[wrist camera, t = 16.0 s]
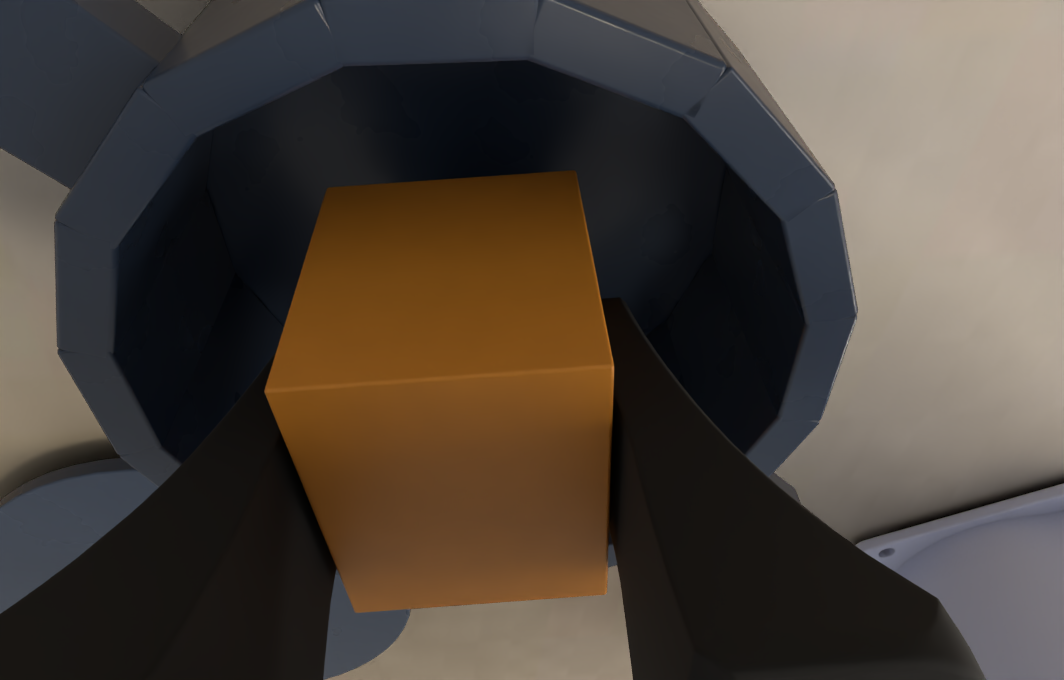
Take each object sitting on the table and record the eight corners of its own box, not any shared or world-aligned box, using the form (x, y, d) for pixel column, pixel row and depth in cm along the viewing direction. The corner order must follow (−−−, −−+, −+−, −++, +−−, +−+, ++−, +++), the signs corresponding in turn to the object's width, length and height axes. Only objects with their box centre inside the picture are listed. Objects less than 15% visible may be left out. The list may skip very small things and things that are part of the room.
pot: (255, -527, 9) (69, -701, 5) (920, 263, 17) (1052, 437, 13) (-73, 147, 14) (-291, 327, 10) (557, 500, 23) (573, 676, 19)
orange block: (575, 168, 12) (614, 366, 8) (578, 389, 15) (606, 595, 12) (325, 185, 12) (261, 391, 8) (382, 403, 15) (354, 614, 12)
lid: (101, 366, 18) (20, 511, 15) (493, 555, 25) (495, 686, 21) (-73, 585, 24) (-159, 723, 21) (280, 692, 30) (256, 811, 27)
